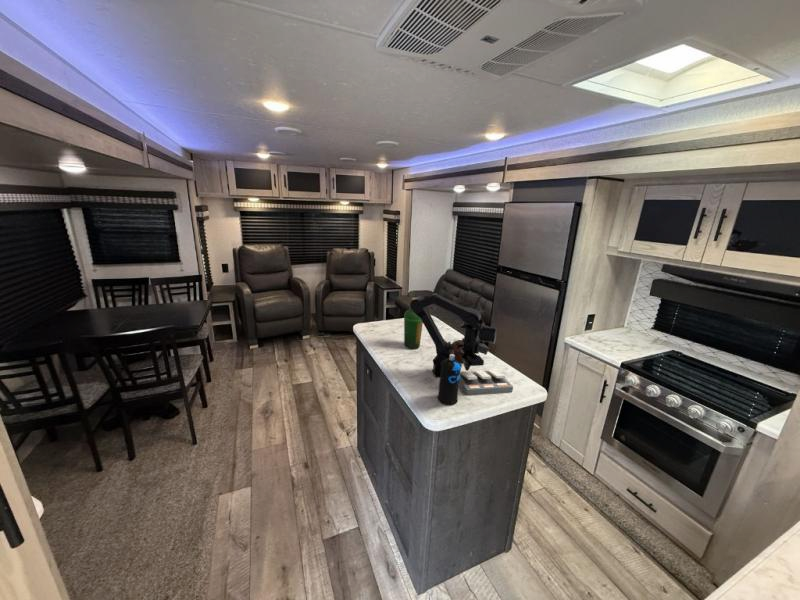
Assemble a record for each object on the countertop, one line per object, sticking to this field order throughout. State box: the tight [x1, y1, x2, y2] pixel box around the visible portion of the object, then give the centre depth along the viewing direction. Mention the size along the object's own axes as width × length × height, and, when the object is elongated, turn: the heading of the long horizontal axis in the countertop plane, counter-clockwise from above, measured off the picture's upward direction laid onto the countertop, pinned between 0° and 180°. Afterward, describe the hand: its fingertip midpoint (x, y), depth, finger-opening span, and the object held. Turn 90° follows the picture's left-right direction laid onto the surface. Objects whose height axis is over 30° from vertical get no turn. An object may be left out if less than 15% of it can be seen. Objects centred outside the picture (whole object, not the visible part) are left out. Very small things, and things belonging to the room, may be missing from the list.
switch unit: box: [459, 369, 514, 396], centre depth 138 cm, size 21×14×3 cm, turn 100°
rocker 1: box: [460, 370, 477, 380], centre depth 137 cm, size 4×8×2 cm, turn 10°
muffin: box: [451, 339, 463, 364], centre depth 159 cm, size 12×11×10 cm
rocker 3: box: [487, 369, 506, 379], centre depth 139 cm, size 4×8×2 cm, turn 10°
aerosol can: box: [437, 354, 463, 406], centre depth 123 cm, size 8×8×20 cm
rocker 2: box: [474, 370, 491, 379], centre depth 138 cm, size 4×8×2 cm, turn 10°
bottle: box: [403, 297, 424, 350], centre depth 168 cm, size 11×11×28 cm
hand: (466, 370), depth 140 cm, fingers closed
